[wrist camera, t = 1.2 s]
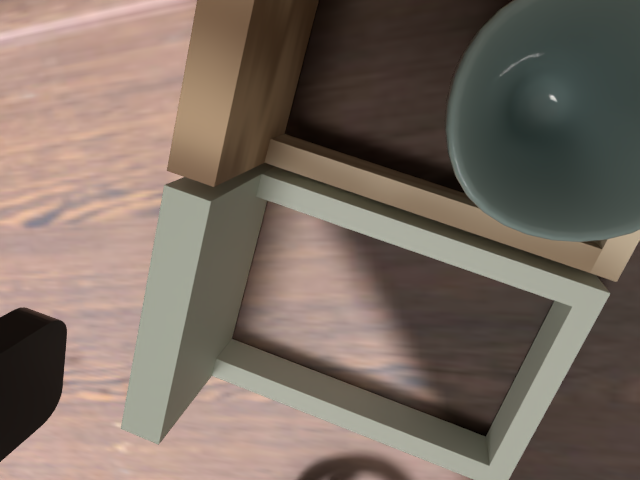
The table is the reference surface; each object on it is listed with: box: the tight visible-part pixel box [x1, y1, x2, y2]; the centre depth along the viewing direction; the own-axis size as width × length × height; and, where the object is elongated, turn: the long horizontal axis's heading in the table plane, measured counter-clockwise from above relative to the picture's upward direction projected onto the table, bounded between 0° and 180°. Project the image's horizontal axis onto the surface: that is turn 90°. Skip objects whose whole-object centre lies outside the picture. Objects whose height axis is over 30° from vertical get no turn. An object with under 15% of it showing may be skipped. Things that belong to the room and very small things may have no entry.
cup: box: [445, 0, 640, 242], centre depth 20 cm, size 8×8×10 cm
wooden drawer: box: [167, 0, 640, 282], centre depth 20 cm, size 12×19×8 cm, turn 74°
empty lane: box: [121, 163, 610, 480], centre depth 25 cm, size 12×19×8 cm, turn 74°
